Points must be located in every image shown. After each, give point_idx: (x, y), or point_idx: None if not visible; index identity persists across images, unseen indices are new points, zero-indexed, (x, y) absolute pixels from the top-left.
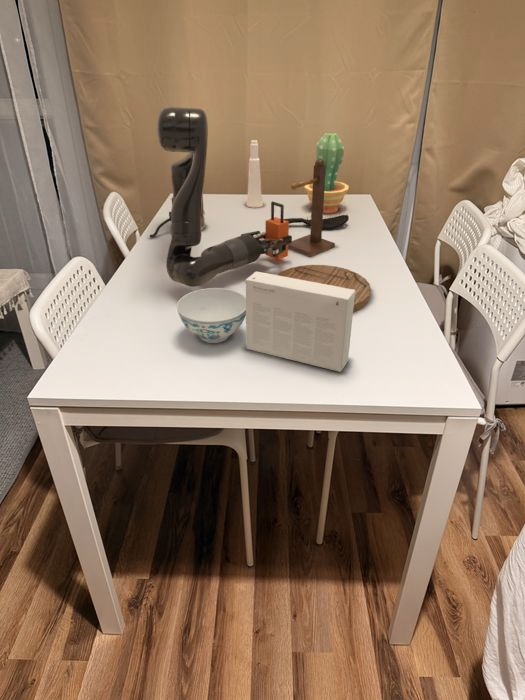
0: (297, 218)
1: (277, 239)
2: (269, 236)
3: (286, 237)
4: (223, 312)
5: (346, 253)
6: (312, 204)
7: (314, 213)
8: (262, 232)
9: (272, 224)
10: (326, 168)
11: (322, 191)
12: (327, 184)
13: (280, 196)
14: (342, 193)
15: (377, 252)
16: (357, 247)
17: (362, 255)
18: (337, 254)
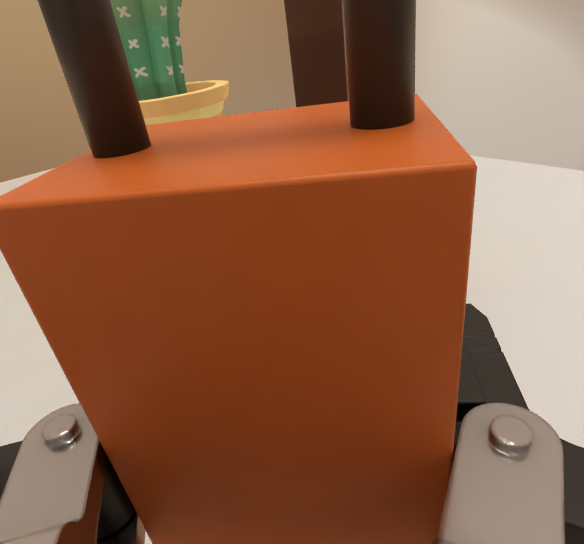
0: None
1: (494, 499)
2: (209, 463)
3: (463, 337)
4: None
5: (517, 243)
6: (293, 33)
7: (320, 90)
8: (28, 438)
9: (235, 227)
10: (145, 25)
11: None
12: (168, 77)
13: (19, 180)
14: (225, 92)
15: (572, 192)
16: (480, 206)
17: (577, 223)
18: (506, 265)
